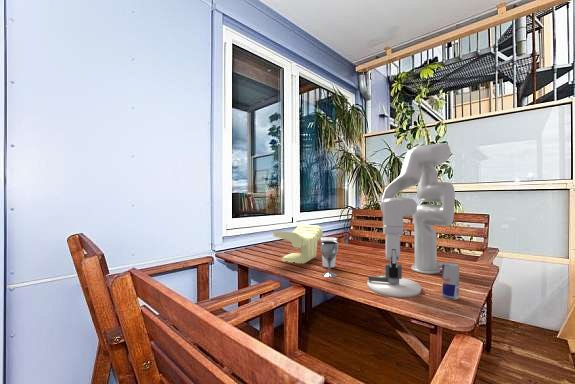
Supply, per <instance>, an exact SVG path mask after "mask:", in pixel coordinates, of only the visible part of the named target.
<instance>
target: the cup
mask: <svg viewBox="0 0 575 384" xmlns="http://www.w3.org/2000/svg"><path fill="white" fill-rule="evenodd" d="M337 240H338V239H337V238H336V237H330V236H329V237H328V236H327V237H323V238H320V243H321V242H322V241H335V242H338V241H337ZM336 256H337V255H336ZM336 256H335V257H334V259H333V260H332V261H331V266H330V268H335V267H336ZM321 260H322V267H324V268H329V267H328V262H327V260H326V259H325V258H324V256H323V255H322V254H321Z"/></svg>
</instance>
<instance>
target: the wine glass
mask: <svg viewBox="0 0 575 384" xmlns="http://www.w3.org/2000/svg"><path fill="white" fill-rule="evenodd" d="M338 250H339V242H338V241H337V242H335V241H322V242H321V241H320V252H321V256H322V255H323V256H324V258H325V259H326V260H327V262H328V267H327V268H328V272H323V273H321V276H322V277H325V278H336V277H338V274H337V273H335V272H331V267H330V266H331V261H332V260H333V259H334V257H335V256H337V254H338Z"/></svg>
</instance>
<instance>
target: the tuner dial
mask: <svg viewBox="0 0 575 384" xmlns="http://www.w3.org/2000/svg"><path fill="white" fill-rule="evenodd" d="M377 277H385V275H380V276H377ZM366 284H367V285H366V286H367V289H369V290H370V291H372V292H373V291H374V292H373V293H376V294H379V295H382V296H386V297H391V298H411V297H416V296H417V297H418V296H419V295H421V293H422V286H421V284H420V283H418V282H416V281H414V280H412V279H409V278H406V277H402V279H399V284H390V283H388V282H378V281H369V279H367V283H366Z"/></svg>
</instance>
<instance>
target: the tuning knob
mask: <svg viewBox="0 0 575 384" xmlns="http://www.w3.org/2000/svg"><path fill="white" fill-rule="evenodd" d="M384 266H385V267H384V273H385V274H384V276H385V277H378V276H374V275H373V276H371V275H369V276H368V280H369V281H378V282H388V283H390V284H399V279H402V278H403V277H402V274H403V272H402V270H403V267H402V264H399V263H397V267H398V278H394V277H389V267H390V264H389V263H385V265H384Z"/></svg>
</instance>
